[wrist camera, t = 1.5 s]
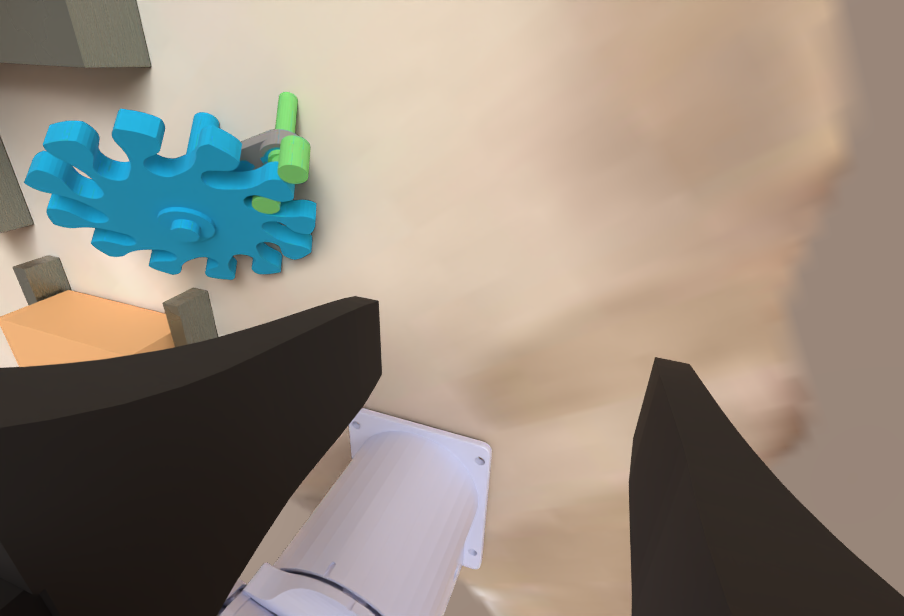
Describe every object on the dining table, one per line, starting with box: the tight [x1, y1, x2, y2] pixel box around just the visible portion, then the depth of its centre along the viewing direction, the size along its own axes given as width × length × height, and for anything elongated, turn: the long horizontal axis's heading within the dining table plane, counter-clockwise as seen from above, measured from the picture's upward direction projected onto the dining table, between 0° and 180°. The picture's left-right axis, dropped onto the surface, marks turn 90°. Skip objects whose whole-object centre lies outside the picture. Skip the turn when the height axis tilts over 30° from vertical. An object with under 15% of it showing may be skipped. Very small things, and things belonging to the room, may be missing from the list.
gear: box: [24, 92, 316, 280], centre depth 20 cm, size 11×6×10 cm
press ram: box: [0, 290, 175, 367], centre depth 28 cm, size 4×10×4 cm, turn 88°
